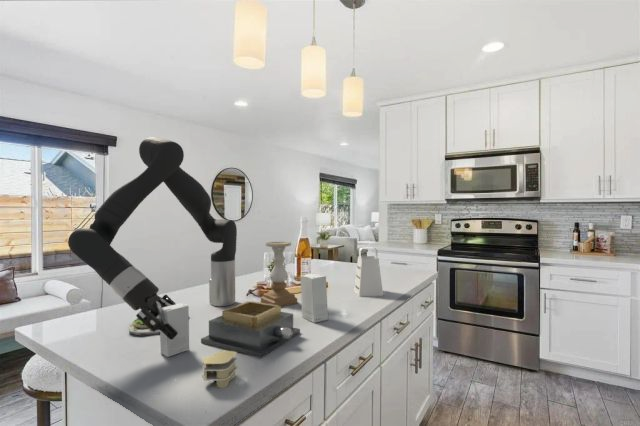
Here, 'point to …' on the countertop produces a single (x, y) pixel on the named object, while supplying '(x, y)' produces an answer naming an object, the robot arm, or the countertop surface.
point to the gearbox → (251, 329)
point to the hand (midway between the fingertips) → (180, 331)
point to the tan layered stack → (220, 367)
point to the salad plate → (139, 324)
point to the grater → (368, 275)
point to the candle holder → (278, 278)
